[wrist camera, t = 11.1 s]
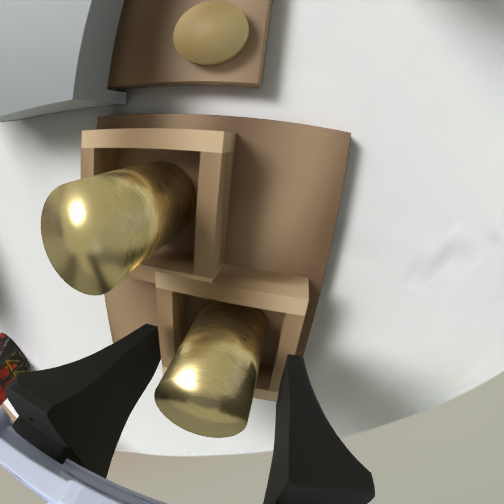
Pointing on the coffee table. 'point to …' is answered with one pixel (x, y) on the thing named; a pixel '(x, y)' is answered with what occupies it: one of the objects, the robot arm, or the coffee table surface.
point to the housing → (56, 56)
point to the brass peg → (215, 371)
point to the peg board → (230, 225)
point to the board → (190, 43)
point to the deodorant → (10, 363)
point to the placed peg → (114, 222)
